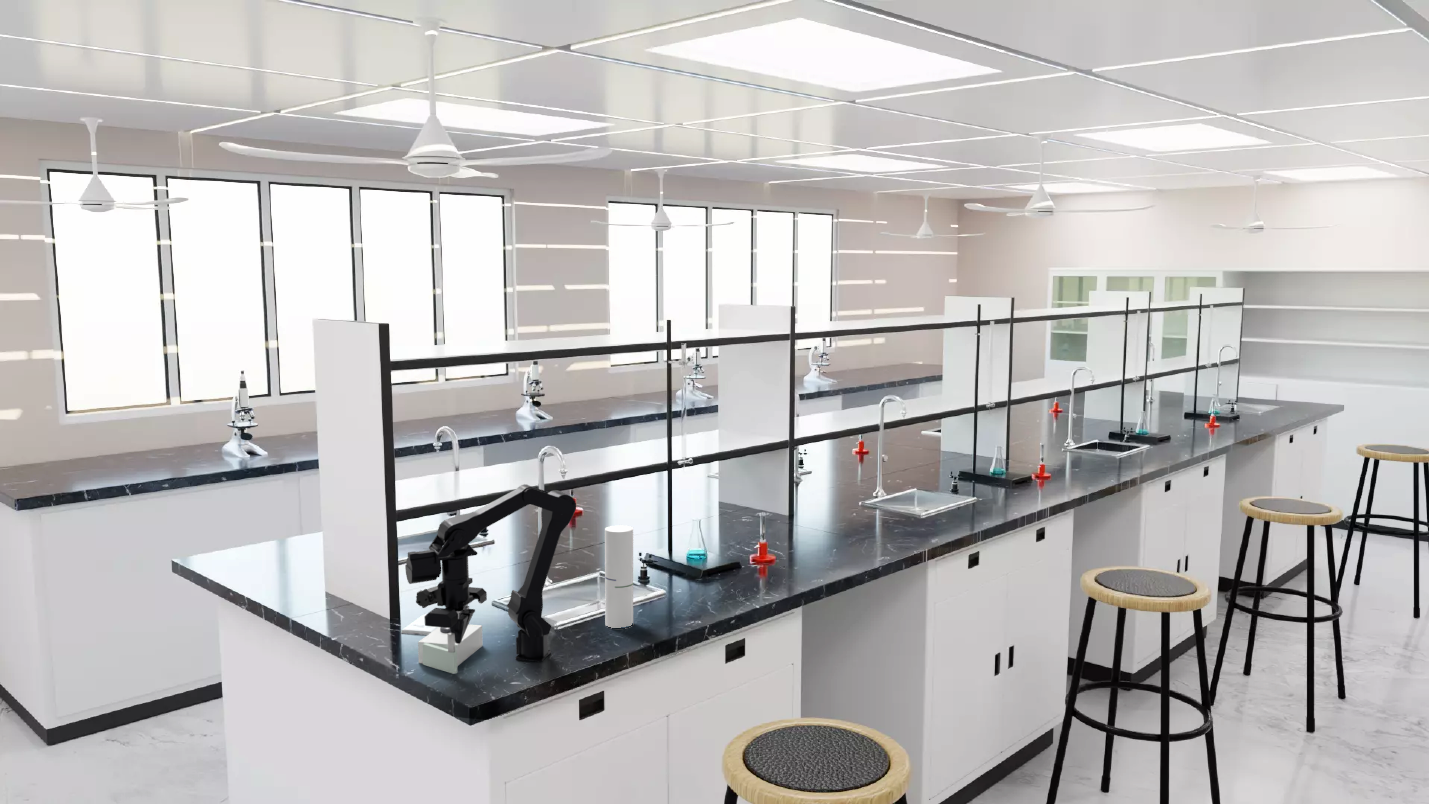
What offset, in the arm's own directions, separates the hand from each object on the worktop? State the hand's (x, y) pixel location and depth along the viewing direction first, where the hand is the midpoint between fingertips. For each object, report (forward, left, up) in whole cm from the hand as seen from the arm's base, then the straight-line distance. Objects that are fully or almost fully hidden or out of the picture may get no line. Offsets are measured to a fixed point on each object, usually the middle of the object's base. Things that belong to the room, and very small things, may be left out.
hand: (458, 643), depth 225 cm
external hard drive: (+21, -25, -7) cm, 33 cm away
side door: (+4, +1, -6) cm, 7 cm away
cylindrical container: (-26, -37, -6) cm, 46 cm away
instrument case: (+6, -9, -6) cm, 12 cm away
